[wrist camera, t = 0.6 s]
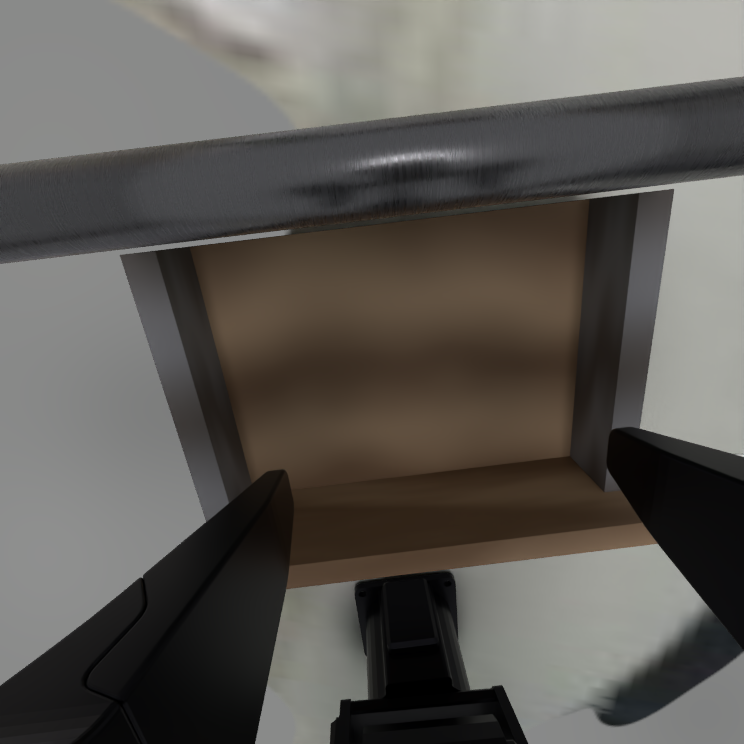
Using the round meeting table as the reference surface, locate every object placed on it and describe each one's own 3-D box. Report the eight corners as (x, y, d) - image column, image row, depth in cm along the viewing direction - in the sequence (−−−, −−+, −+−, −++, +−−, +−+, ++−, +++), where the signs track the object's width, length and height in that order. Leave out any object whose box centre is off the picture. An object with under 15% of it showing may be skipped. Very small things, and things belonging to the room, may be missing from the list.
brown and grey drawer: (571, 452, 23) (659, 543, 16) (246, 491, 23) (203, 599, 16) (590, 198, 18) (726, 182, 11) (180, 247, 18) (81, 259, 11)
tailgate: (606, 194, 16) (957, 149, 7) (171, 246, 16) (-82, 272, 7) (610, 150, 16) (999, 34, 6) (160, 204, 16) (-134, 169, 6)
